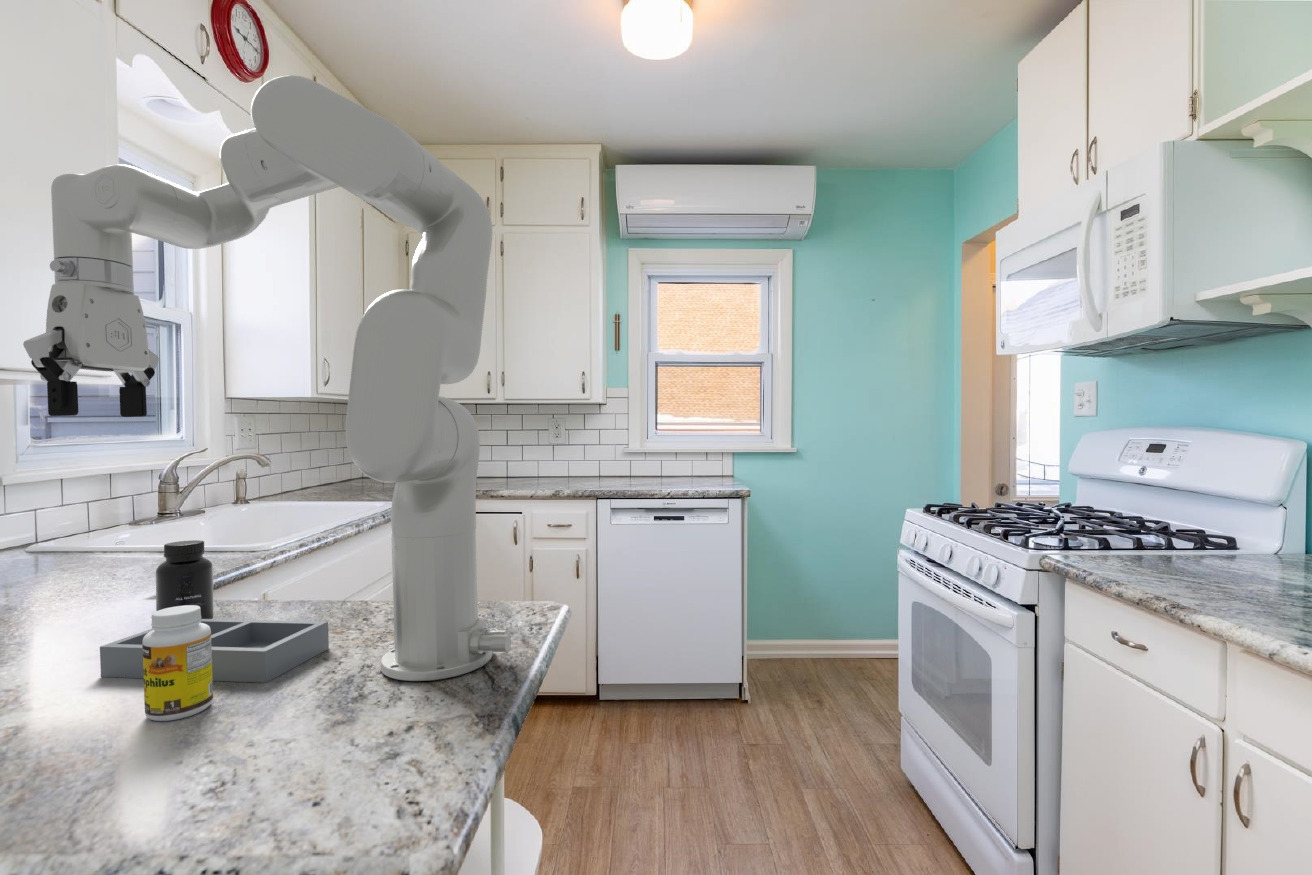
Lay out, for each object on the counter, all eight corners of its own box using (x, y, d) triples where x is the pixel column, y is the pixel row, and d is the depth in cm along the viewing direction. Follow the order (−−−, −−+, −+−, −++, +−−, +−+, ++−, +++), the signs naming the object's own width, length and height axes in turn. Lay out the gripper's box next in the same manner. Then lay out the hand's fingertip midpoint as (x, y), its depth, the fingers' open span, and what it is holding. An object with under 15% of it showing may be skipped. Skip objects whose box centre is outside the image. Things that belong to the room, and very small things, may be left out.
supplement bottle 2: (130, 720, 64) (126, 616, 64) (186, 697, 69) (183, 601, 69) (172, 726, 62) (168, 619, 62) (226, 702, 67) (223, 604, 67)
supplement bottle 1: (184, 632, 92) (181, 547, 92) (144, 630, 93) (141, 546, 93) (225, 618, 99) (223, 538, 98) (187, 616, 100) (185, 538, 100)
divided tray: (328, 648, 84) (327, 621, 83) (266, 682, 73) (265, 651, 73) (182, 644, 86) (181, 618, 86) (100, 676, 76) (99, 646, 75)
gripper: (56, 261, 73) (62, 414, 73) (178, 292, 90) (182, 416, 91) (-7, 264, 74) (-1, 416, 74) (126, 294, 91) (131, 417, 91)
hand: (100, 416), depth 82 cm, fingers open, 9 cm apart
